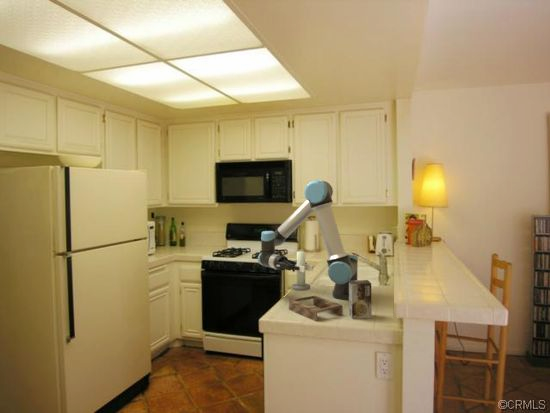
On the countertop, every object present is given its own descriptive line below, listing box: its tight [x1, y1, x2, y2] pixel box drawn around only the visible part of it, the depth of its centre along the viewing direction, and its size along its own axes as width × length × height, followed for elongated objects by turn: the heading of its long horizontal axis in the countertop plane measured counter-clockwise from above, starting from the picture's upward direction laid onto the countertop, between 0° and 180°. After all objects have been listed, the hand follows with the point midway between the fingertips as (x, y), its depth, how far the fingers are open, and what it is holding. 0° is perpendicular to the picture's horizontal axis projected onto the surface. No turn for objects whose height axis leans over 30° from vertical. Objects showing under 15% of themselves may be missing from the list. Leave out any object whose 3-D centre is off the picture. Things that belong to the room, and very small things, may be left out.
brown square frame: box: [288, 295, 344, 322], centre depth 182 cm, size 20×16×4 cm
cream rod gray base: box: [291, 251, 311, 292], centre depth 190 cm, size 9×9×18 cm
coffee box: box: [348, 279, 373, 320], centre depth 176 cm, size 9×6×16 cm
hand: (308, 268), depth 186 cm, fingers closed on cream rod gray base, 4 cm apart
